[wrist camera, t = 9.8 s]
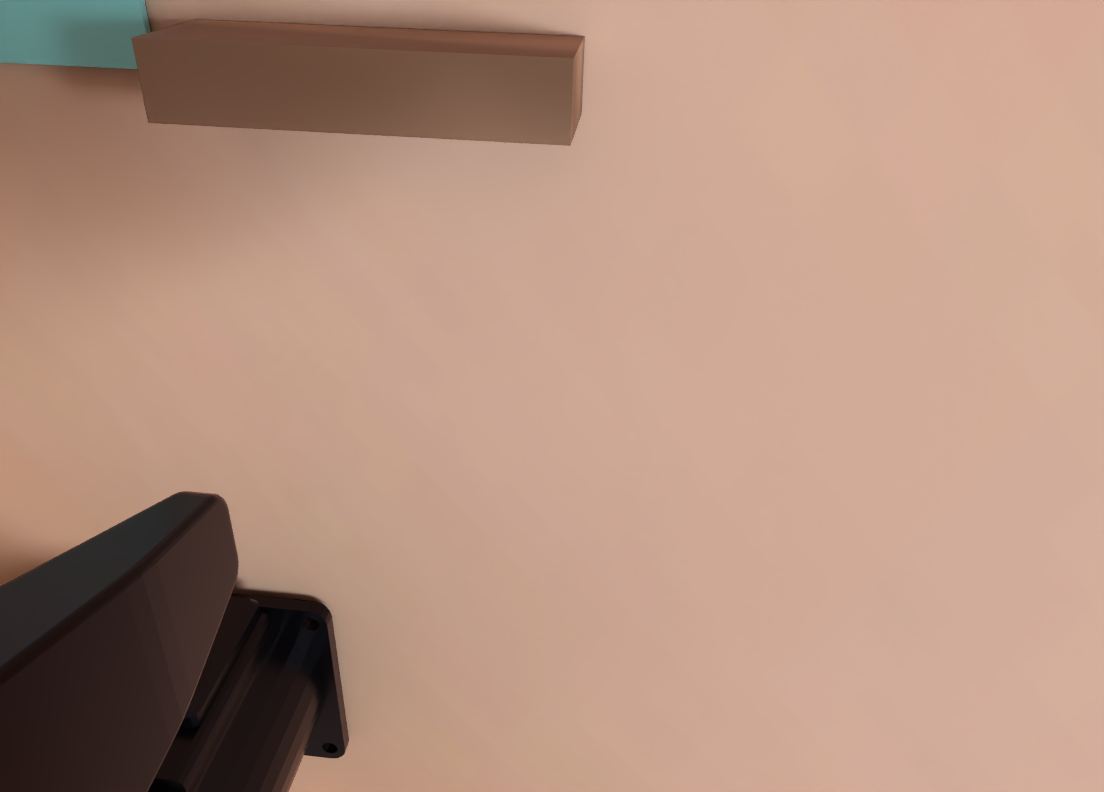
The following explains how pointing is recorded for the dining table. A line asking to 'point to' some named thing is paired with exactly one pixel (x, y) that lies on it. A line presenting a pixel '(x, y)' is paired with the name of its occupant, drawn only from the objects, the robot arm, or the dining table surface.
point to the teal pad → (71, 32)
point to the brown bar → (363, 80)
